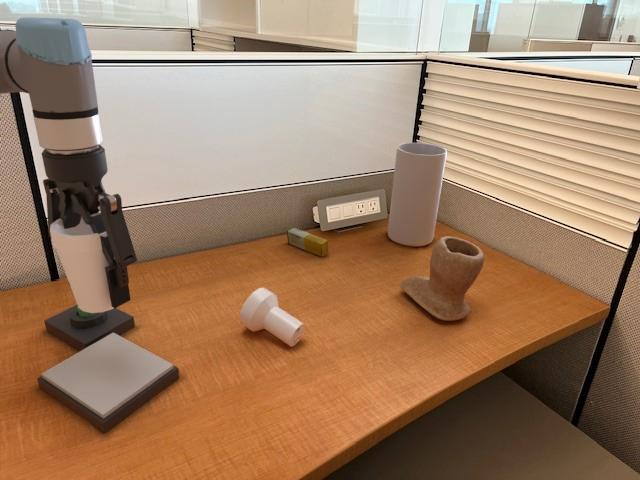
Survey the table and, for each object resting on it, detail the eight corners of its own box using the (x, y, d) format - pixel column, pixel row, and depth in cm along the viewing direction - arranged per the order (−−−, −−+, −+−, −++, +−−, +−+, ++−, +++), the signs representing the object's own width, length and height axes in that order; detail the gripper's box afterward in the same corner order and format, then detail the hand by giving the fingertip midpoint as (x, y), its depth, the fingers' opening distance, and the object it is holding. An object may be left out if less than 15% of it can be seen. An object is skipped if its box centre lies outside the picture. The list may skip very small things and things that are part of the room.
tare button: (74, 314, 87) (73, 306, 86) (90, 306, 90) (89, 298, 89) (85, 319, 86) (84, 311, 85) (101, 311, 88) (100, 303, 87)
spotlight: (265, 306, 96) (266, 278, 91) (310, 336, 92) (313, 308, 86) (236, 330, 91) (236, 302, 86) (283, 363, 86) (285, 335, 81)
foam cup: (52, 312, 70) (33, 231, 65) (93, 281, 78) (80, 207, 73) (109, 323, 68) (95, 241, 63) (145, 291, 76) (135, 215, 71)
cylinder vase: (423, 252, 125) (437, 158, 114) (379, 239, 130) (389, 149, 120) (439, 235, 134) (453, 148, 124) (397, 225, 140) (408, 140, 129)
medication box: (287, 243, 126) (285, 230, 124) (294, 239, 128) (293, 226, 126) (322, 257, 119) (321, 243, 117) (328, 253, 121) (328, 239, 119)
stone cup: (485, 317, 98) (500, 252, 92) (437, 329, 94) (449, 261, 87) (440, 282, 111) (450, 222, 104) (396, 291, 106) (404, 229, 100)
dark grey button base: (46, 331, 88) (42, 313, 86) (95, 306, 96) (91, 289, 94) (87, 355, 83) (83, 336, 81) (135, 327, 90) (132, 309, 89)
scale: (39, 388, 75) (35, 374, 74) (116, 342, 86) (113, 329, 85) (104, 433, 68) (101, 418, 67) (179, 377, 79) (178, 363, 77)
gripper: (153, 155, 61) (169, 304, 70) (50, 129, 71) (77, 263, 81) (101, 169, 55) (127, 329, 65) (-3, 138, 65) (33, 281, 75)
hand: (99, 292), depth 73 cm, fingers closed on foam cup, 9 cm apart
